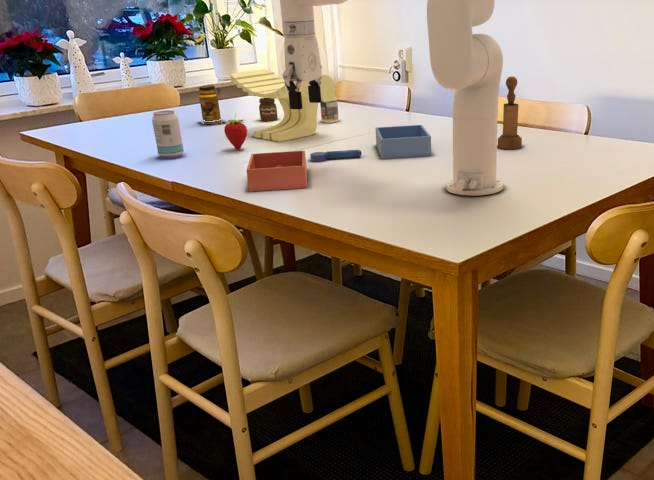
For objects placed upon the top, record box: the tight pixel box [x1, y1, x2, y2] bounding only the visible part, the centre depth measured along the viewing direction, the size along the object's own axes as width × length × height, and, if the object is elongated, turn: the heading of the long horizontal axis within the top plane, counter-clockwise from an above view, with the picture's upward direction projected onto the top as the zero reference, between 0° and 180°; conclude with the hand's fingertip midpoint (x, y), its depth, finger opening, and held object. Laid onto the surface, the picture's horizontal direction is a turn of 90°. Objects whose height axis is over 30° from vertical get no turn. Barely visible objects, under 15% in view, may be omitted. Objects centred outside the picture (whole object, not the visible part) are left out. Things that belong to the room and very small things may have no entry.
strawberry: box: [223, 114, 248, 151], centre depth 210 cm, size 6×8×10 cm
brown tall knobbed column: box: [497, 76, 523, 150], centre depth 197 cm, size 7×6×18 cm
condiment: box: [198, 85, 222, 125], centre depth 250 cm, size 7×8×12 cm
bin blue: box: [375, 124, 432, 160], centre depth 201 cm, size 17×13×5 cm
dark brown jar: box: [258, 97, 279, 122], centre depth 251 cm, size 6×6×12 cm
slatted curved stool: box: [229, 68, 336, 143], centre depth 225 cm, size 30×16×18 cm, turn 45°
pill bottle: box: [319, 96, 339, 124], centre depth 244 cm, size 6×6×10 cm
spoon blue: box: [309, 149, 363, 163], centre depth 196 cm, size 14×4×2 cm, turn 96°
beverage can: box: [151, 110, 185, 160], centre depth 204 cm, size 7×7×12 cm
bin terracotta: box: [246, 150, 308, 192], centre depth 177 cm, size 17×13×5 cm
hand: (306, 105), depth 181 cm, fingers open, 9 cm apart
